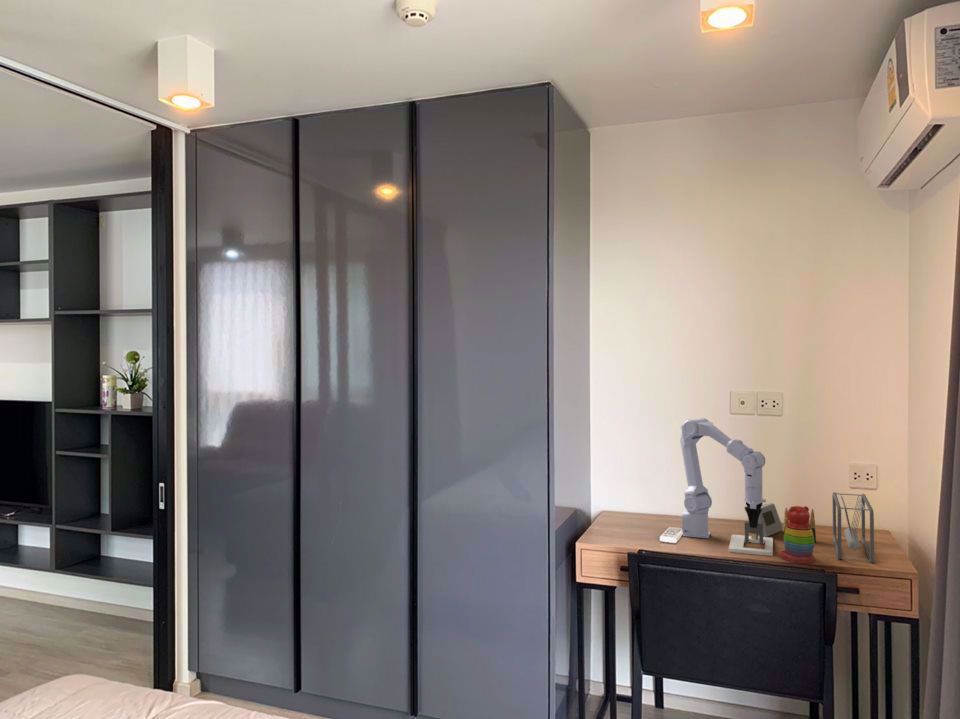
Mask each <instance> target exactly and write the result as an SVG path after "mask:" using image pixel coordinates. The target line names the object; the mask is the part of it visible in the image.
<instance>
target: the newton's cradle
mask: <svg viewBox="0 0 960 719" xmlns="http://www.w3.org/2000/svg"><path fill="white" fill-rule="evenodd" d="M838 495H839V496H840V499H841V501H842V505H843V507H841V505H840V500H839V499H838ZM844 496H850V498H851V499H850V500H851V501H849V500H848V502H849V503H847V502H846V503H845V499H844ZM851 496H857V497H851ZM860 497H861V498H860ZM831 498H832V540H833V545H834V548H835V554H836V558H837V559H838V560H839V559H841V560H851V561H862V562H863V561H864V562H870V564H873V563H874V562H875V531H874V530H875V525H874V524H875V522H874V521H875V516H874V509H873V507H872V505H871V503H870V501H869V500H868V497H867V496H866V494H865V493H862V494H853V493H841V492H839V493H837V492H836V491H833V492H832V497H831ZM852 498H855V499H852ZM852 500H853V501H852ZM854 500H855V506H854V507H855V508H853V507H852V508H851V507H849V505H851V504H852V503H854ZM851 502H852V503H851ZM848 504H849V505H848ZM847 506H848V507H847ZM866 507H867V508H866ZM842 509H843V510H844V512H845V517H846V521H847V525H848V527H847V528H846V529H844V533H843V534H844V537H845V539H843V537H842ZM848 510H852V511H853V510H854V513H853V515H852V516H853V517H852V521H851V523H850V519H849V514H848ZM866 511H869V547H868V544H867V540H866ZM860 518H861V540H859V537H858V535H857V534H858V529H859V523H860ZM845 540H846V543H847V546H848V548H849V549H850V550H851V551H858V550H859V549H860V548H861V543H862V544H863V548H864V550H865V553H866V555H867V557H868V559H862V558H861V559H859V558H850V557H843V556H842V554H843V550H842V548H843V547H842V541H845Z"/></svg>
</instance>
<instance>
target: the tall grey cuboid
mask: <svg viewBox="0 0 960 719" xmlns="http://www.w3.org/2000/svg"><path fill="white" fill-rule="evenodd" d="M751 533H756V534H759V535H758V537H759V543H758V544H759V545H764V544H763V523H762V522H758V525H757V528H750V524H749V520H748V521H747V520H745V521H744V535H745V542H744V544H745V543H747V544H748V543H749V536H750V535H749V534H751Z"/></svg>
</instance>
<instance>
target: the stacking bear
mask: <svg viewBox="0 0 960 719" xmlns="http://www.w3.org/2000/svg"><path fill="white" fill-rule="evenodd" d="M787 510H788V512H787V517H788V519H789V521H790V522H789V523H788V524H787V526H786V529H785V533H784V532H783V538H784V539H783V546H784V549H785V550H780V551H779V552H778V555H777V556H778V557H779V558H781V560H785V561H786V562H787V561H788V562H790V563H795V564H796V563H797V564H812V563H813V562H815V555H814V554H813V552H814V548H815V545H816V544H815V543H816V542H815V541H814V536H813V531H812V529H811V527H810V525H809V524H807V523H808V521H809V520H810V519H811V513H810V512H809V511H810V508H809V507H808V506H800V505H795V506H790V507H789V509H787Z"/></svg>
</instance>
